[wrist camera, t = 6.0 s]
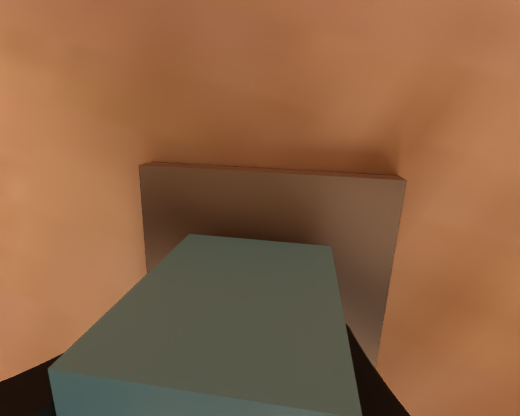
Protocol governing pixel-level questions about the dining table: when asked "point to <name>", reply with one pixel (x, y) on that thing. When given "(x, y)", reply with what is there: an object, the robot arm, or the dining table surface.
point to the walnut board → (285, 222)
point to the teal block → (218, 338)
